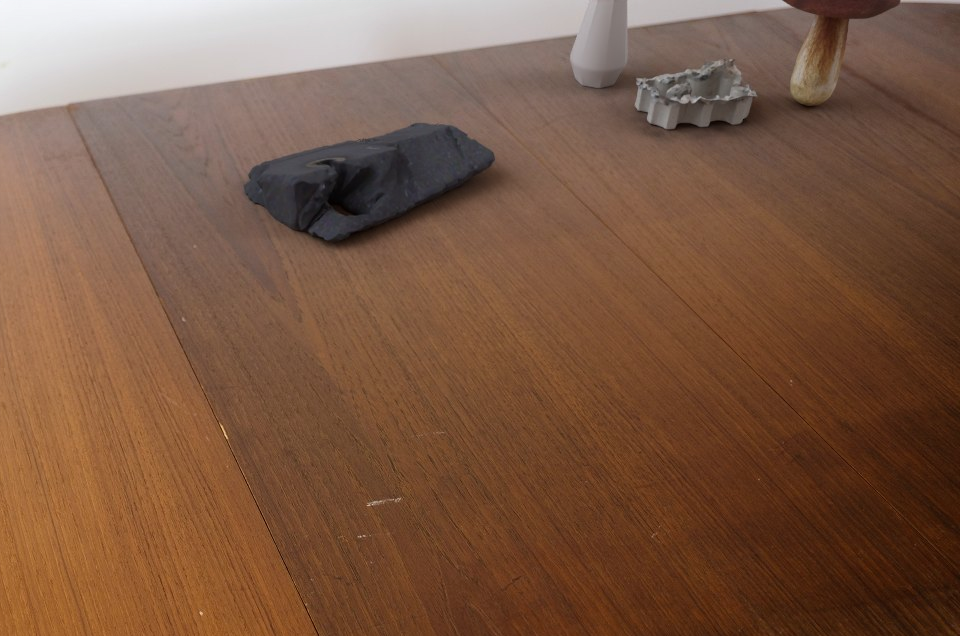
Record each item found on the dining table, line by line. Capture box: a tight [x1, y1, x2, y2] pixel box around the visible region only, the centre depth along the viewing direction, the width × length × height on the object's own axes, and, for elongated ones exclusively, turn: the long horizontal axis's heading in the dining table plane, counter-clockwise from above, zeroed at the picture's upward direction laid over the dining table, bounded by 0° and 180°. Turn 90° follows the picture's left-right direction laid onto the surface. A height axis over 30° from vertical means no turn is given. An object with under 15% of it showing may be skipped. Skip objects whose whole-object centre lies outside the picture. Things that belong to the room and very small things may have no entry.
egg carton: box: [633, 58, 759, 130], centre depth 123 cm, size 11×8×4 cm
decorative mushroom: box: [781, 0, 901, 107], centre depth 121 cm, size 11×11×15 cm
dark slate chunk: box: [243, 122, 496, 243], centre depth 113 cm, size 15×22×5 cm
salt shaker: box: [569, 0, 629, 89], centre depth 127 cm, size 6×6×13 cm
